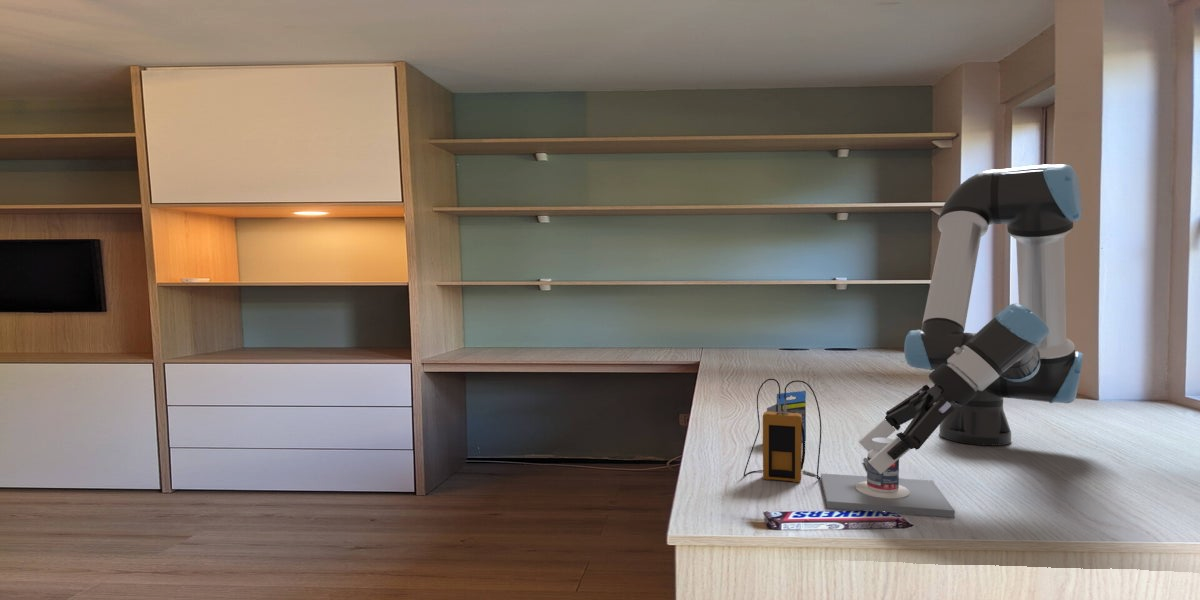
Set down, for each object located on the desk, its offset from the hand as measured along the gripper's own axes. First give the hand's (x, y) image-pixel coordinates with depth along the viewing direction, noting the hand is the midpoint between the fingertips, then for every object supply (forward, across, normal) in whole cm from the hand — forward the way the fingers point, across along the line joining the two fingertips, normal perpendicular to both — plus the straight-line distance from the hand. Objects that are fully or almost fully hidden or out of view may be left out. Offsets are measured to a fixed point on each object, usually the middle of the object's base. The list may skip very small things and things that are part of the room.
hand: (868, 457), depth 121 cm
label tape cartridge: (+15, -36, -4) cm, 39 cm away
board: (+3, -7, +7) cm, 10 cm away
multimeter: (+16, -10, -5) cm, 19 cm away
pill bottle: (+2, 0, +6) cm, 6 cm away
